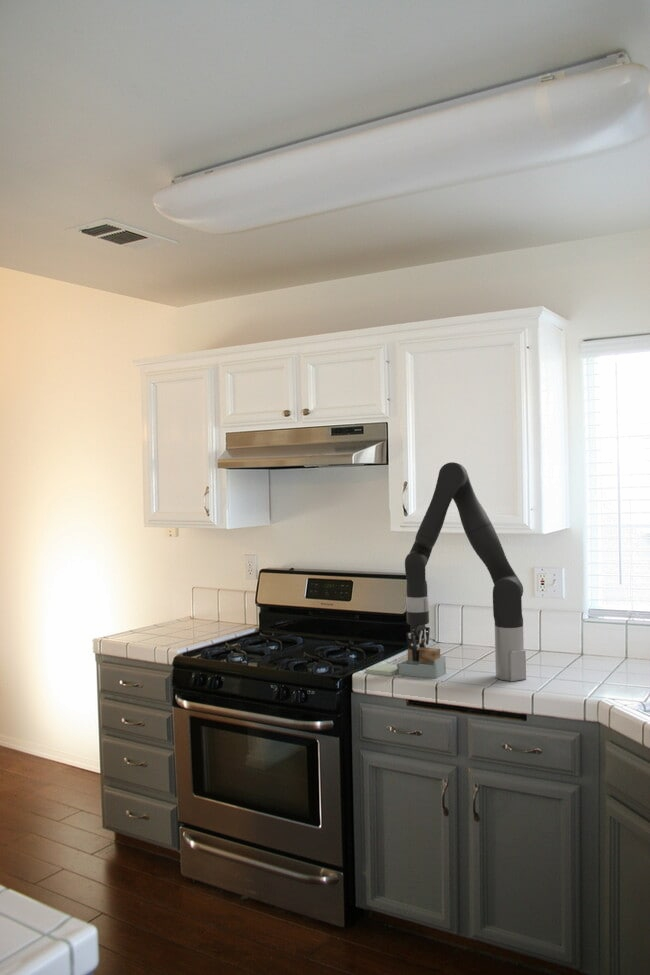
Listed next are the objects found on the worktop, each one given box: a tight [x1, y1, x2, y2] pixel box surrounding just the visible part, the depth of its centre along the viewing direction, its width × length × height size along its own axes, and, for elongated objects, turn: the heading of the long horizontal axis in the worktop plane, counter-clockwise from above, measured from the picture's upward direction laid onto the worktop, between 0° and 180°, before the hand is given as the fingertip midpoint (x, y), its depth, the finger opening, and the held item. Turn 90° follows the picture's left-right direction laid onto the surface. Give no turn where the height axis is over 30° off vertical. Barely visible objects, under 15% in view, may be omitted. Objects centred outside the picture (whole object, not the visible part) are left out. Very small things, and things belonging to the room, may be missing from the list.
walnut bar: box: [407, 647, 441, 663], centre depth 284 cm, size 10×4×4 cm, turn 59°
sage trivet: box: [364, 663, 397, 676], centre depth 290 cm, size 10×10×1 cm
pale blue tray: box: [396, 655, 447, 679], centre depth 285 cm, size 14×8×6 cm, turn 59°
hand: (419, 659), depth 285 cm, fingers closed on walnut bar, 4 cm apart
